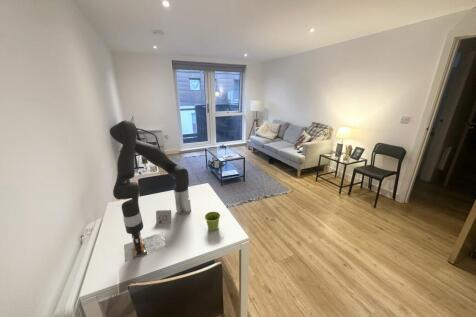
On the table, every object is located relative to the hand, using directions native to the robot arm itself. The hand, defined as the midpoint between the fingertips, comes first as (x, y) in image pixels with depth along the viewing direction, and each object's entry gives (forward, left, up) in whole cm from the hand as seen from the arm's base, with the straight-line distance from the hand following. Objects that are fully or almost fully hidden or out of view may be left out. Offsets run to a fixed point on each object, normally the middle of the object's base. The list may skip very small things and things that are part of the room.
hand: (139, 248), depth 100 cm
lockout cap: (0, -1, -3) cm, 4 cm away
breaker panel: (-3, -4, -5) cm, 7 cm away
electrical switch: (-16, -21, -5) cm, 27 cm away
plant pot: (-41, -1, -5) cm, 41 cm away
